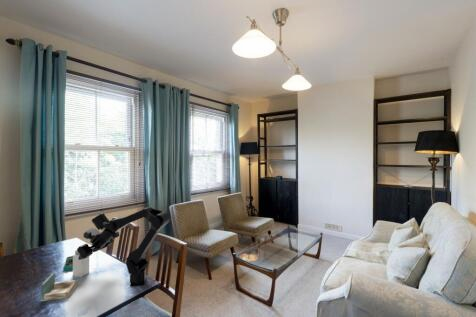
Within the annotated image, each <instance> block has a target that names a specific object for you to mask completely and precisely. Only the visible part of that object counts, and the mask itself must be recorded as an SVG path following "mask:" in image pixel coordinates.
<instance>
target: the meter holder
mask: <svg viewBox="0 0 476 317" xmlns="http://www.w3.org/2000/svg"><path fill="white" fill-rule="evenodd" d="M77 285H78V280H77V279H75V280H73V279H71V280H66V281H65V280H64V281H56V272H52V273H51V274H50V275H49V276H48V277H47V278H46V279H45V280H44V281H43V283H41V284H40V286H41V287H40V290H41V292H40V293H41V294H40V295H41V296H40V297H41V298H40V302H45V301H53V300H61V299H68V298H69V297H70V296H71V295H72V293H73V291H74V290H76V287H77Z"/></svg>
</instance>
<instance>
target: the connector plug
mask: <svg viewBox="0 0 476 317" xmlns="http://www.w3.org/2000/svg"><path fill="white" fill-rule="evenodd" d="M79 255H80V254H79V252H78V251H77V249H76V250H75V251H74V254H73V255H72V256H73V270H72V276H73V277H78V278H83V276H84V277H85V276H86V275H87V274H88V273H90V256H89V257H87V258H85V259H81V260H79V259H78V258H79Z"/></svg>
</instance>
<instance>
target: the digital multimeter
mask: <svg viewBox="0 0 476 317" xmlns="http://www.w3.org/2000/svg"><path fill="white" fill-rule="evenodd" d="M62 271H63V272H69V271H73V255H70V256H67V257H66V258H65V262H64V265H63V268H62Z"/></svg>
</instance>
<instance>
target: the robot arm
mask: <svg viewBox="0 0 476 317" xmlns="http://www.w3.org/2000/svg"><path fill="white" fill-rule="evenodd" d="M170 216H171V215H170V214H169V212H166V211H163V210H160V209H156V208H153V207H150V206H148V207H145V208H142V209H141V210H139V211H136V212H134V213H131V214H129V215H127V216H126V215H125V216H120V217H117V218H114V219H110V220H109V218H108V217H107V216H106V214H105V213H104V212H102V213H99V214H98V215H97V216H95V217H94V218H93V217H92V219H91V223H92V224H93V225H94V226H95V227H92V228H89V229H87V230H86V231H85V232H83V238H85V239H86V240H89V243H91V245H89V244H88V243H84V244H82V245H80V246H78V247H77V249H76V250H77V251H78V252H79V254H80V255H79V258H78V259H79V260H81V259H85V258H87V257H89V258H90V256H92V255H93V253H96V252H98V251H101V250H104V249H105V248H108V247H109V246H111V245H112V244H113V243H114V239H116V238H119V237H120V230H121V229H123V228H124V229H125V227H127V226H128V225H129V224H131V223H133V222H135V221H138V220H141V219H143V218H145V219H146V220H147V221H148V222H149V223H150V228H149V230H148V231H147V233H146V234H145V236H144V238H143V239H142V241H141V243H140V244H139V245H138V247H137V248H135V249H134V250H132V251H130V252H129V253H128V256H127V258H125V260H126V261H125V265H126V268H127V273H128V274H129V283H130V285H129V287H135V286H136V287H138V286H144V285H145V284H146V281H147V277H146V276H147V275H146V274H147V271H146V268H147V267H149V262H148V260H147V259H146V255H147V251H148V250H149V248H150V247H151V245H152V243H153V242H154V241H155V239H156V237H158V234H159V232H160V231H161V230H162V229H163V228H164V227H165V226H166V225H167V224H168V223H169V222H170V221H171V217H170ZM99 230H100V231H101V232H100V231H99Z"/></svg>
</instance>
